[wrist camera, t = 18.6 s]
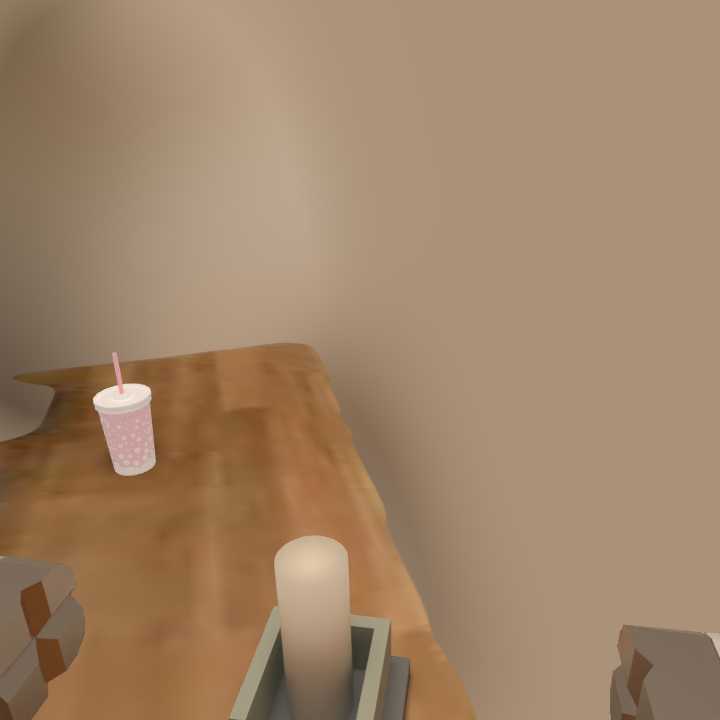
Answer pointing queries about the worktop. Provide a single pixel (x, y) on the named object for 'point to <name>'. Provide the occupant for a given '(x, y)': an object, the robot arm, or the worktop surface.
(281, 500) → the worktop surface
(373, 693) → the cradle jig
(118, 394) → the beverage cup
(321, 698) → the tall white cylinder
